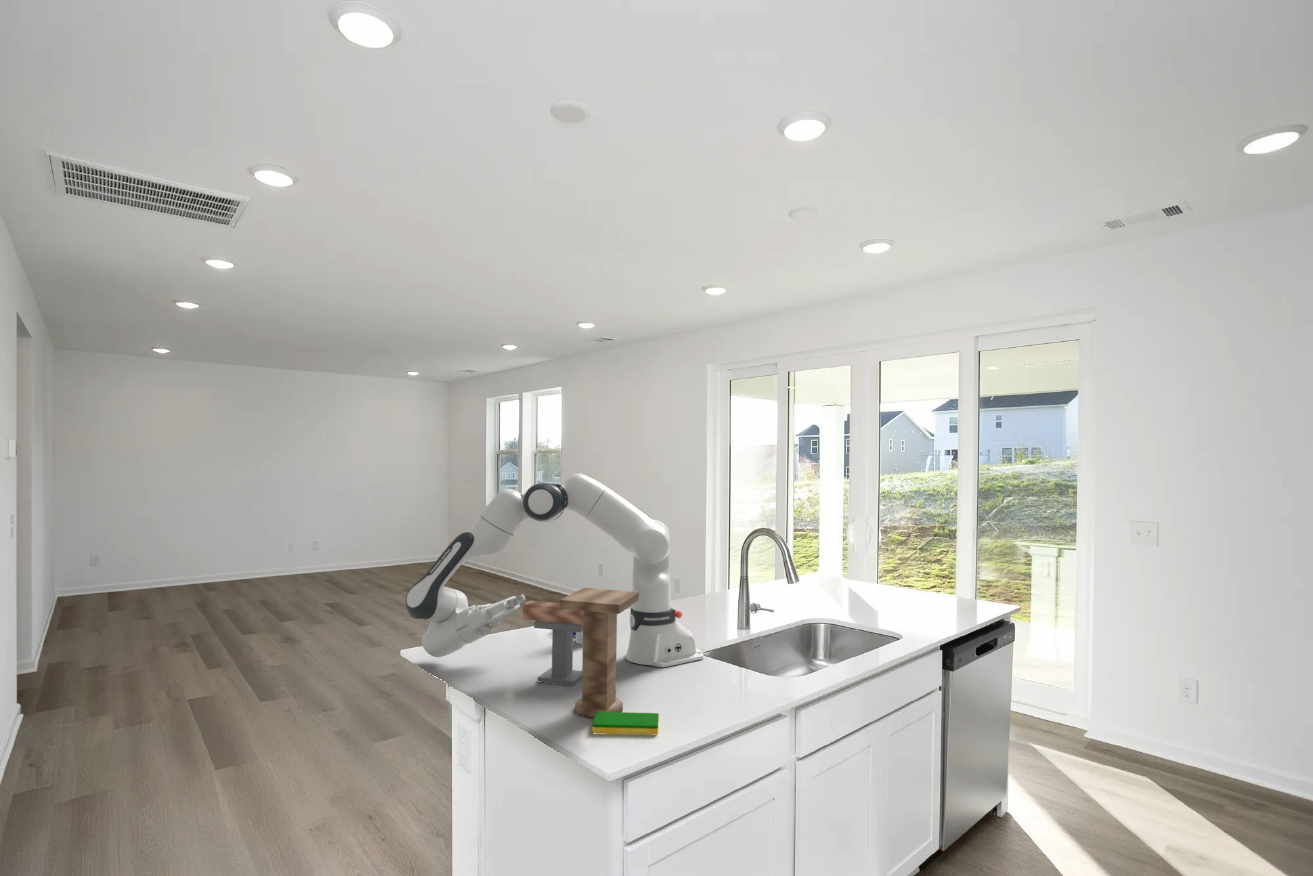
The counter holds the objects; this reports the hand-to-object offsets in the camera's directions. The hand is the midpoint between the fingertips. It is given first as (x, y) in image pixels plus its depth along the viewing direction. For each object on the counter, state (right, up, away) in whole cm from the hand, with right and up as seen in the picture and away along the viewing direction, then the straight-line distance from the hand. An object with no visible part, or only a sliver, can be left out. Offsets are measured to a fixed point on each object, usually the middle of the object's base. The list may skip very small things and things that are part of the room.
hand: (515, 600), depth 179 cm
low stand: (+13, -19, -4) cm, 24 cm away
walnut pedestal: (+24, -19, -24) cm, 39 cm away
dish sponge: (+31, -20, -34) cm, 50 cm away
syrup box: (+16, -20, +30) cm, 39 cm away
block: (+12, -4, -4) cm, 14 cm away
